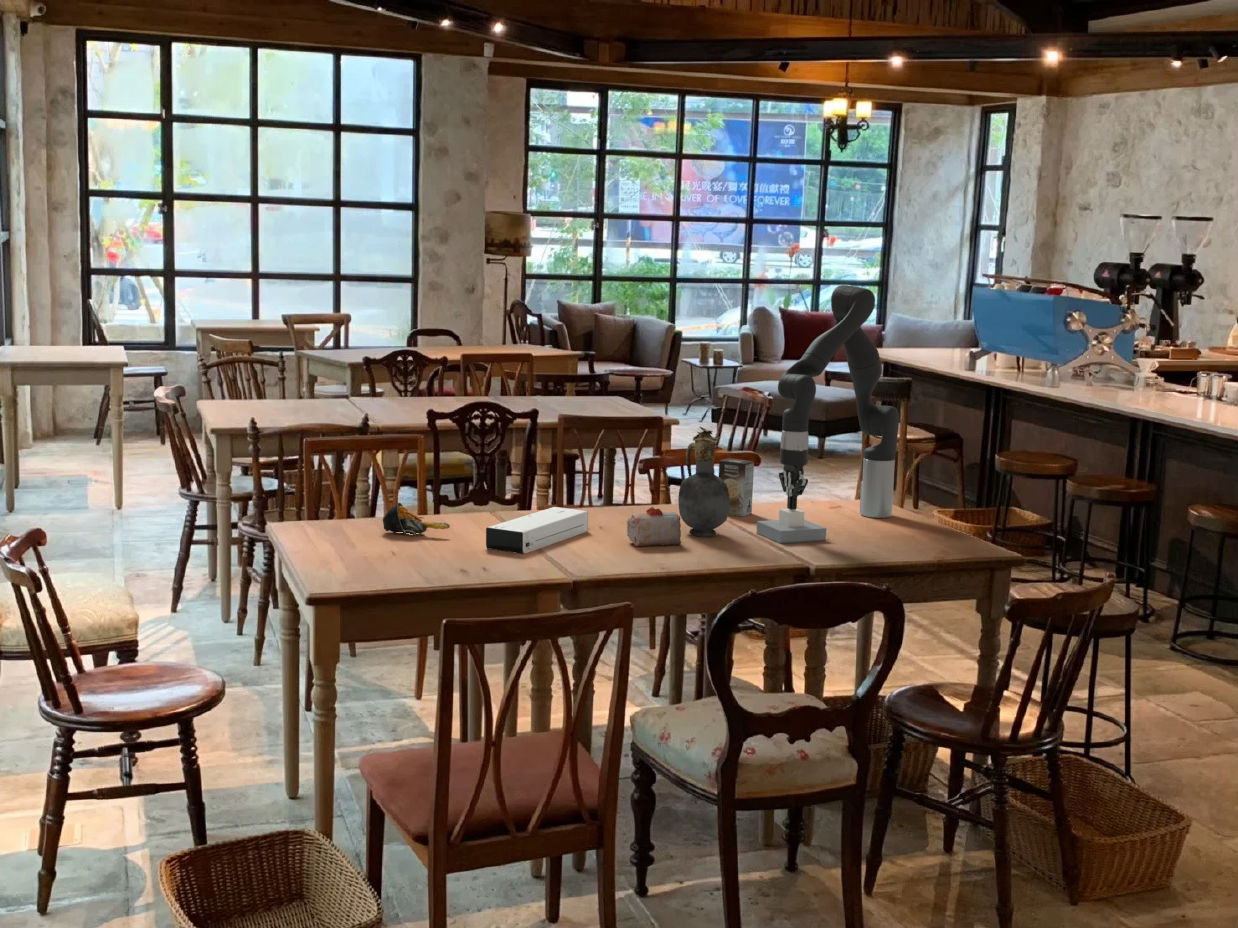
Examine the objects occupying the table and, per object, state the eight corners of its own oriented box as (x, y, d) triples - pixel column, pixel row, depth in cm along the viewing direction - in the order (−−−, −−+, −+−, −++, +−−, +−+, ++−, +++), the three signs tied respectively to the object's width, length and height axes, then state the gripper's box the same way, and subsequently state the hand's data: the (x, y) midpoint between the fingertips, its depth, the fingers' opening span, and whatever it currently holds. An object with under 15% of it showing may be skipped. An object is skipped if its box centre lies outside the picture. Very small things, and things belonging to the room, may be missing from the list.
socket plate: (756, 533, 371) (757, 519, 370) (800, 530, 376) (801, 516, 375) (780, 543, 358) (780, 529, 357) (825, 540, 363) (826, 526, 362)
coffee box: (715, 513, 399) (717, 460, 396) (725, 509, 404) (727, 457, 401) (743, 516, 394) (745, 463, 391) (753, 513, 399) (754, 460, 396)
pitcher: (697, 541, 359) (700, 431, 354) (668, 527, 376) (670, 422, 372) (733, 538, 363) (736, 430, 358) (702, 525, 380) (706, 421, 376)
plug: (778, 533, 368) (779, 509, 367) (794, 532, 370) (795, 508, 369) (787, 537, 363) (788, 512, 362) (803, 536, 365) (804, 511, 364)
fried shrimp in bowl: (386, 511, 368) (447, 493, 366) (394, 549, 365) (456, 531, 363) (374, 505, 359) (437, 486, 357) (383, 544, 356) (446, 525, 354)
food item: (633, 548, 349) (634, 511, 348) (625, 542, 357) (625, 506, 355) (682, 546, 353) (683, 509, 352) (673, 539, 361) (674, 504, 359)
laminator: (553, 528, 375) (553, 506, 374) (591, 533, 369) (591, 511, 368) (485, 550, 345) (485, 527, 344) (525, 556, 339) (526, 532, 338)
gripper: (770, 444, 367) (768, 505, 370) (794, 451, 355) (791, 514, 358) (794, 443, 370) (792, 504, 373) (818, 450, 358) (815, 513, 361)
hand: (791, 509), depth 365 cm, fingers closed
